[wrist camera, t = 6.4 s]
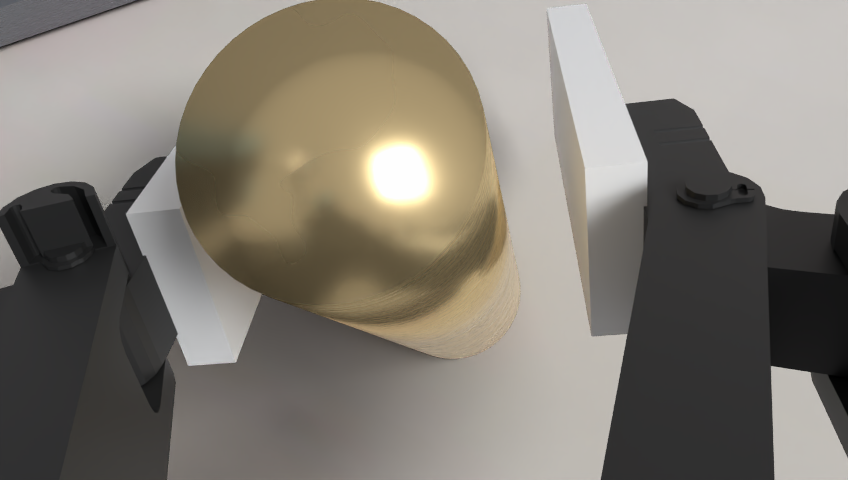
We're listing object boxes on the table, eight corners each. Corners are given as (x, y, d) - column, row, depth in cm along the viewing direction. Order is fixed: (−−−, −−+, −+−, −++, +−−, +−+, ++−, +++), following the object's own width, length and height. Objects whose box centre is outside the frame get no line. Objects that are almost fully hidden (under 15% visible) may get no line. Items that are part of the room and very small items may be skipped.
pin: (380, 354, 18) (155, 296, 8) (391, 221, 19) (195, -1, 8) (516, 363, 18) (476, 314, 7) (523, 226, 18) (495, -4, 8)
